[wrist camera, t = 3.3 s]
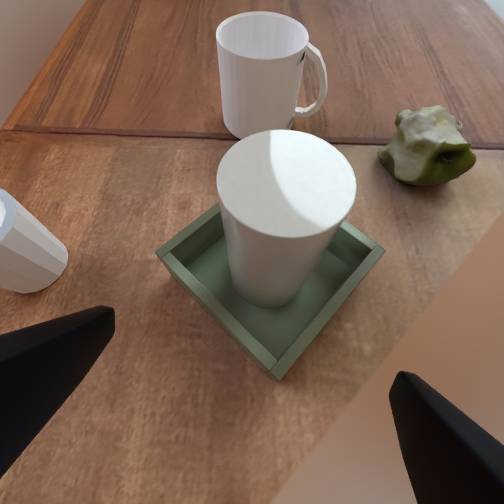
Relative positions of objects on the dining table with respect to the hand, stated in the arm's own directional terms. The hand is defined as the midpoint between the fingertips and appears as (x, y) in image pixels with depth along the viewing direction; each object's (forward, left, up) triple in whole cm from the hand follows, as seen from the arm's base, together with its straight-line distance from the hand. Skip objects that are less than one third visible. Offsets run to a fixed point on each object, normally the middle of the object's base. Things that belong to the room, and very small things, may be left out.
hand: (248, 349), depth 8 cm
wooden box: (+4, -7, -14) cm, 16 cm away
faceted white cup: (+20, +8, -14) cm, 26 cm away
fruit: (+1, -28, -14) cm, 32 cm away
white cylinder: (+4, -7, -13) cm, 15 cm away
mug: (+18, -22, -14) cm, 32 cm away
